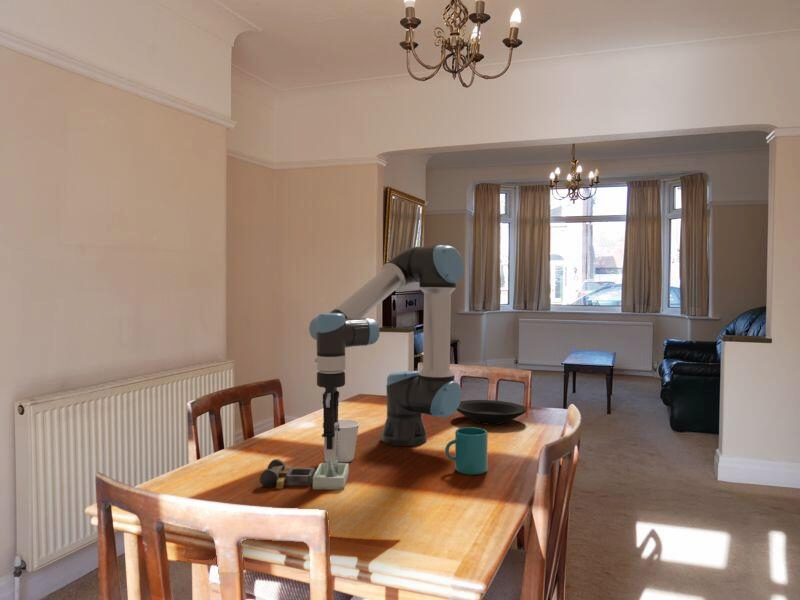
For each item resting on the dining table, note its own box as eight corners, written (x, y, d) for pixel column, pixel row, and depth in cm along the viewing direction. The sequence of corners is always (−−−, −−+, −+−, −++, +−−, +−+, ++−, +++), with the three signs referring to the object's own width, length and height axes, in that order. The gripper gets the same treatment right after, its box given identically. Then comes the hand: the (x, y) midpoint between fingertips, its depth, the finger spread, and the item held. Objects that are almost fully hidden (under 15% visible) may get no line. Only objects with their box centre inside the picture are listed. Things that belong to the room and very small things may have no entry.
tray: (348, 474, 166) (348, 463, 166) (343, 489, 154) (343, 478, 154) (319, 473, 166) (319, 463, 166) (312, 489, 154) (312, 477, 154)
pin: (340, 472, 162) (340, 421, 162) (338, 478, 158) (338, 425, 158) (324, 472, 163) (323, 421, 162) (321, 477, 158) (321, 425, 158)
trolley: (315, 475, 165) (315, 459, 165) (309, 488, 155) (309, 471, 155) (269, 474, 166) (268, 459, 166) (259, 488, 155) (259, 471, 155)
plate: (535, 419, 230) (535, 405, 230) (512, 433, 210) (512, 417, 209) (469, 410, 245) (469, 397, 245) (441, 423, 225) (441, 408, 224)
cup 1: (364, 456, 182) (364, 421, 182) (351, 466, 173) (351, 428, 173) (335, 453, 186) (335, 418, 185) (320, 463, 176) (320, 426, 176)
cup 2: (442, 466, 173) (442, 427, 173) (482, 464, 175) (483, 426, 174) (448, 476, 164) (448, 436, 164) (490, 475, 166) (491, 434, 165)
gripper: (321, 366, 168) (321, 449, 168) (311, 376, 151) (312, 467, 152) (348, 366, 167) (348, 449, 168) (341, 376, 151) (341, 468, 152)
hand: (331, 457), depth 160 cm, fingers closed on pin, 3 cm apart
